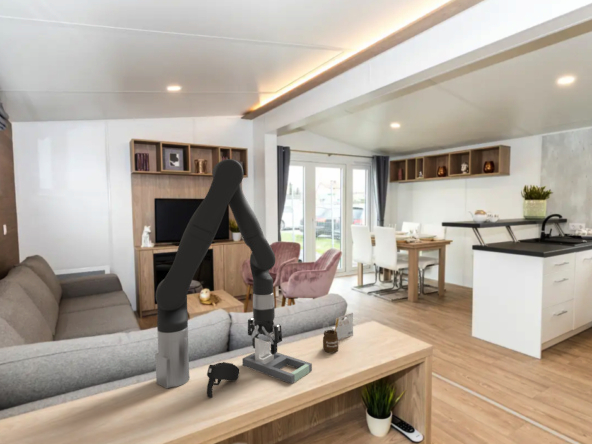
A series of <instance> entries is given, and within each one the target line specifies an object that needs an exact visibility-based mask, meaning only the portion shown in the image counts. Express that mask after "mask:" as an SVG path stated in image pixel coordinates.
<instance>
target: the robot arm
mask: <svg viewBox="0 0 592 444" xmlns="http://www.w3.org/2000/svg"><path fill="white" fill-rule="evenodd" d="M211 175H212V182H211V183H210V187H209V189H208V191H207V193H206V195H205V197H204V198H203V200H202V201H201V203H200V204H199V206H198V207H197V208H196V210H195V212H194V213H193V214H192V216H191V218H190V219H189V221H188V223H187V225H186V228H185V230H184V232H183V234H182V236H181V239H180V242H179V245H178V247H177V251H176V254H175V258H174V260H173V263H172V264H171V267H170V269H169V271H168V273H167V274H166V275H165V277H164V279H162V280H161V281H160V282H159V283H158V285H157V287H156V291H155V300H156V303H157V316H156V317H157V320H156V324H157V325H156V326H157V327H156V328H157V329H156V330H157V353H156V354H155V378H156V380H155V381H156V384H158V385H159V386H161V387H163V388H165V389H170V388H173V387H174V388H176V387H180V386H182V385H184V384H186V383H187V382H188V381H189V380H190V360H189V359H190V358H189V357H190V356H189V355H190V354H189V327H188V324H189V323H188V321H189V317H188V293H189V290H190V286H191V283H192V281H193V279H194V276H195V275H196V272H197V270H198V269H199V266H200V265H201V264H202V261H204V259H205V256H206V255H207V253H208V250H209V249H210V247H211V246H212V243H213V241H214V239H215V237H216V234H217V232H218V230H219V227H220V226H221V223H222V220H223V218H224V215H225V213H226V211H227V207H228V206H229V208H230V210H231V212H232V216H233V218H234V220H235V222H236V224H237V228H238V229H239V232H240V236H241V237H242V240H243V242H244V244H245V245H246V246H247V247H248V248H249V249H250V251H251V254H250V257H249V264H250V271H251V276H252V283H253V284H252V285H253V286H252V289H253V296H252V317H251V318H249V319H248V320H247V335H248V336H250V337H251V339H252V340H251V341H252V347H253V348H252V349H254V350H255V338H258V339H260V338H259V336H260V335H263V336H266V338H267V339H268V340H269V341H270V342H269V343H270V350H271V354H272V355H274V354H276V352H277V353H278V344H279V343H281V342H283V336H282V335H283V332H282V331H283V330H282V324H280V323H279V324H275V323H274V320H275V316H276V315H275V314H276V313H275V312H276V311H275V296H274V295H275V294H274V279H273V277H272V275H271V274H270V270H272V269H273V268H274V267H275V264H276V255H275V253H274V251H273V249H272V246H271V245H270V244H269V242H268V239H266V237H265V235H264V233H263V230H262V227H261V225H260V222H259V220H258V217H257V215H256V214H255V212H254V211H253V209H252V207H251V206H250V204H249V203H248V200H247V199H246V196H245V194H244V192H243V189H242V185H241V183H242V182H243V179H244V169H243V166H242V164H241V163H240V162H239V161H237V160H236V159H230V158H228V159H227V158H226V159H223V160H220V161H219V162H217V163H216V164H215V165H214V167H213V169H212V173H211Z"/></svg>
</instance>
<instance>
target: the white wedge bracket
mask: <svg viewBox="0 0 592 444" xmlns="http://www.w3.org/2000/svg"><path fill="white" fill-rule="evenodd" d="M270 350H271V342H269V341H266V340H263V339H261V338H259V339H258V338H255V349H254V353H255V361H258V362H261V363H264V364H266V363H268V362H270V361H272V360H274V355H272V354H271V353H270Z"/></svg>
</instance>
